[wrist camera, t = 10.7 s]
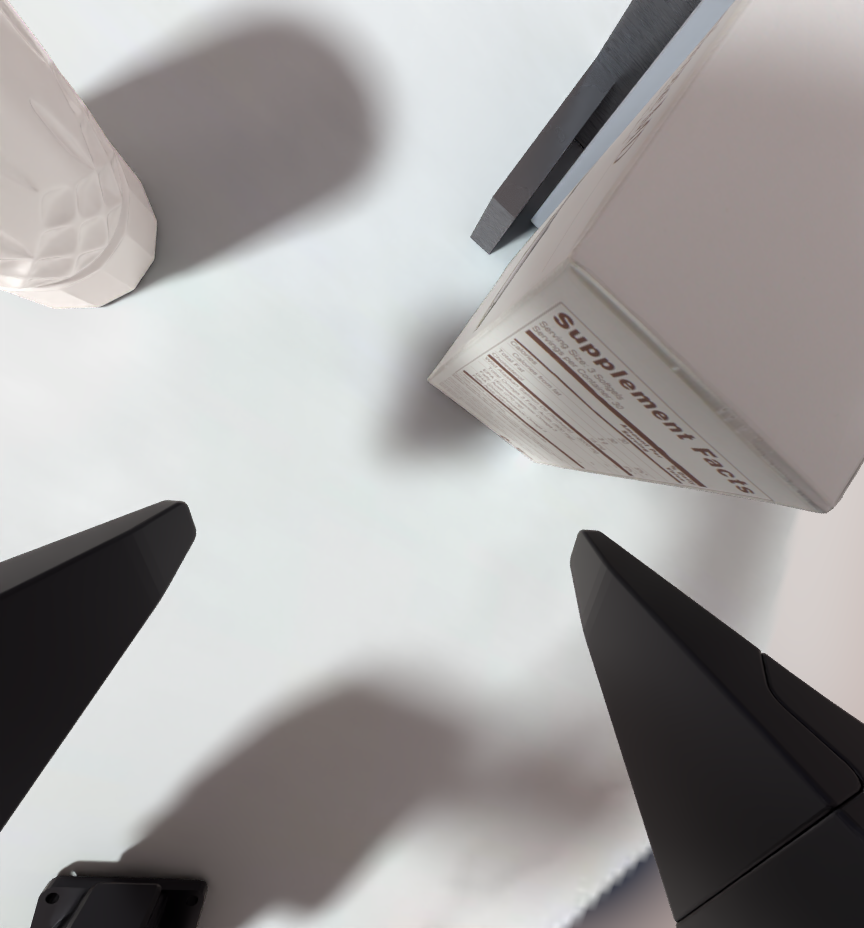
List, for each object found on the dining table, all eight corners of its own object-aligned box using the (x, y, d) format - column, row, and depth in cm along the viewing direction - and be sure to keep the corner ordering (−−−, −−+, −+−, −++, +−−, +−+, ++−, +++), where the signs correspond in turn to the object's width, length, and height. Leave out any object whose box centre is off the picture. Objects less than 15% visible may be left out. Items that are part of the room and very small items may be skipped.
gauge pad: (675, 362, 19) (1006, 283, 9) (530, 220, 17) (760, -71, 7) (691, 339, 19) (1034, 238, 9) (548, 196, 17) (799, -124, 7)
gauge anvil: (641, 394, 20) (910, 352, 10) (470, 237, 18) (610, -15, 8) (752, 231, 21) (1105, 48, 11) (602, 58, 18) (885, -379, 8)
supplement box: (506, 261, 18) (827, -122, 6) (610, 357, 20) (1043, 218, 7) (419, 380, 18) (562, 246, 5) (532, 469, 19) (849, 526, 7)
